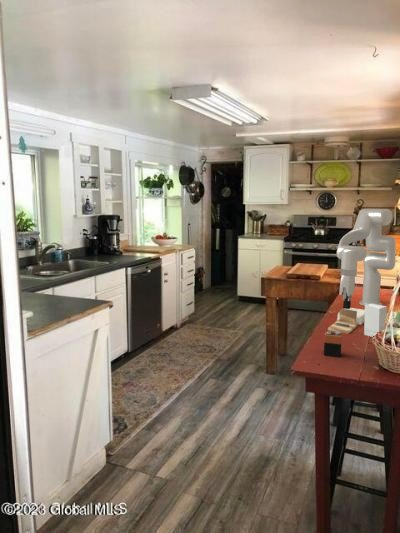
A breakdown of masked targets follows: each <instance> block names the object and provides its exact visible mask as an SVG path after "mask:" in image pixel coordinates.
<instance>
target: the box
mask: <svg viewBox="0 0 400 533" xmlns="http://www.w3.org/2000/svg"><path fill="white" fill-rule="evenodd" d="M346 310H353V311H357V319H356V322H357V323H358V326H361V325H363V324H364V323H365V309H362V308H355V307H350V309H346ZM339 319H340V311H339V312H338V313H337V319H336V321H337V320H339Z"/></svg>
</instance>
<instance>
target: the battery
mask: <svg viewBox="0 0 400 533" xmlns="http://www.w3.org/2000/svg"><path fill="white" fill-rule="evenodd" d="M342 339H343V333H340V332H338V331H337V332H335V331H329V330H327V331H325V333H324V338H323V340H324V342H323V343H324V344H323V355H324V356H328V357H335V358H340V357H341V356H342V342H343V341H342Z"/></svg>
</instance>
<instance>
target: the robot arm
mask: <svg viewBox="0 0 400 533" xmlns="http://www.w3.org/2000/svg"><path fill="white" fill-rule="evenodd" d="M357 214H358V215H357V217H356V220H355V224H354V226H353V229H352V230H350V231H348V232H347V233H346V234H344V235H343V236H342V238H340V240H339V243H338V246H337V248H336V257H337V258H338V259H339V260H340V261H341V265H340V276H341V278H340V283H339V284H340V285H339V296H342V299H343V304H342V309H350V308H352V307H351V304H352V303H351V302H352V295H354V293H355V288H356V287H355V286H356V277H357V276H358V275H357V274H358V262H363V263H362V264H363V284H362V296H361V297H362V300H360V301H359V304H360V305H361V306H363V307H365V305H368V304H377V305H382V306H383V302H380V299H381V298H380V297H381V284H382V283H381V282H382V280H381V279H382V276H381V273H380V272H379V270H385V271H392V270H393V269H394V268H395V266H396V253H397V252H396V251H397V250H396V248H397V247H396V239H395V236H392V235H384V234H383V233H382V229H383V228H382V226H388V225H390V223H391V222H392V219H393V212H392V211H391V210H390V209H387V208H363V209H361V210H359V211H358V213H357ZM362 240H365V247H366V248H365V247H363V246H360V245H359V246H358V245H357V246H356V245H350V244H352V243H356V242H360V241H362ZM367 251H369V252H367Z"/></svg>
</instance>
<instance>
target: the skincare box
mask: <svg viewBox="0 0 400 533" xmlns="http://www.w3.org/2000/svg"><path fill="white" fill-rule="evenodd" d="M364 310H365V322H364V323H363V324H364V329H363V330H364V331H363V335H364V336H368V337H370V338H374V337H373V336H375V335H376V334H377V332H380V331H382V330H384V328H385V321H384V319H386V320H387V314H388V313H387V310H388V309H387V306H386V305H383V304H382V305H377V304H368V305H365V306H364Z"/></svg>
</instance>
